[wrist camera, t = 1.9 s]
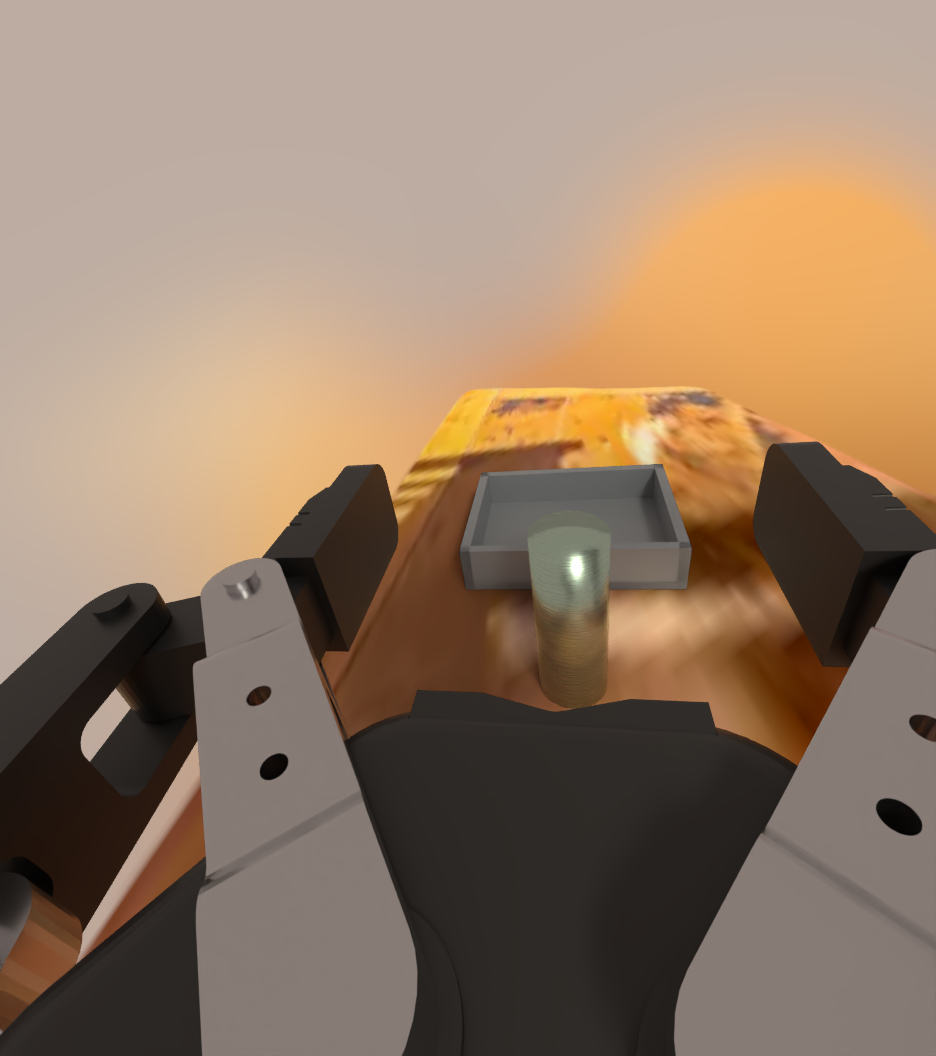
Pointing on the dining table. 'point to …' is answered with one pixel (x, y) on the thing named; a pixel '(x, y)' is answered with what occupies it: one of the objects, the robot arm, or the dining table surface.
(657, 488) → the tote
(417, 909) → the robot arm
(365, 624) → the dining table surface
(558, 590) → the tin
